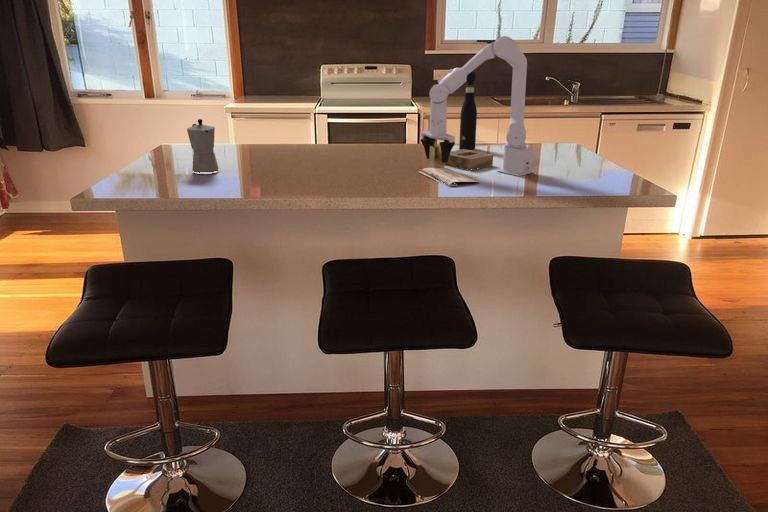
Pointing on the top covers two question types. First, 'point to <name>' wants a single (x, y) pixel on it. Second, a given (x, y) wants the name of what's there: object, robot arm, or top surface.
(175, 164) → the top surface
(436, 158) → the wooden block
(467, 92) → the wine bottle
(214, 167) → the coffeepot
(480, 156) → the well block
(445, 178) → the newspaper
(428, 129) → the handle
